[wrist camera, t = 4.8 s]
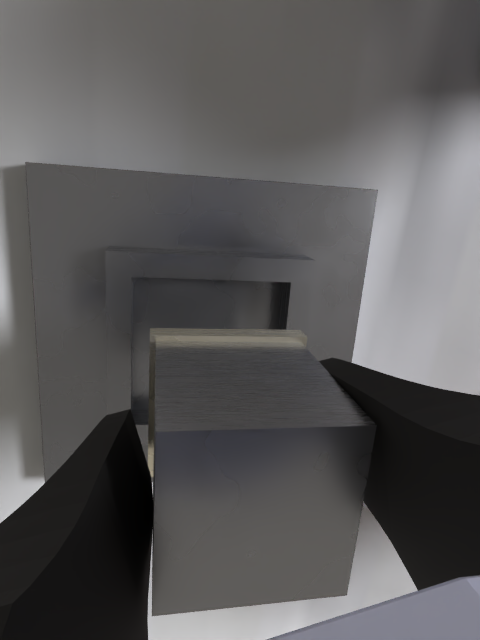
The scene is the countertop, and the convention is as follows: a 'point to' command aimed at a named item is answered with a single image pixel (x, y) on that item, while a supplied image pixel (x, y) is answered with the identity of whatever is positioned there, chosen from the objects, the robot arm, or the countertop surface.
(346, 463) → the brushed metal block
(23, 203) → the countertop surface
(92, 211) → the stand base
